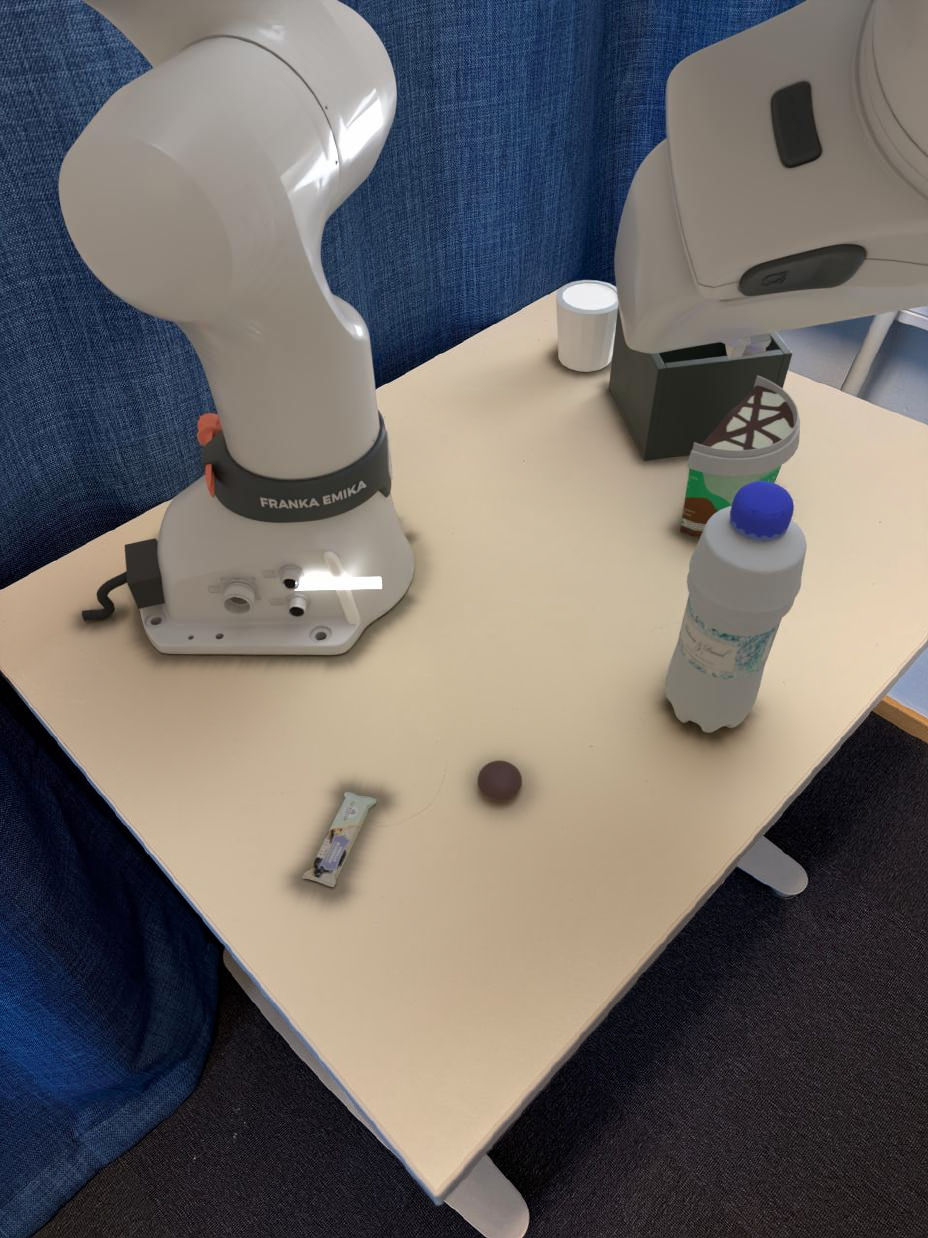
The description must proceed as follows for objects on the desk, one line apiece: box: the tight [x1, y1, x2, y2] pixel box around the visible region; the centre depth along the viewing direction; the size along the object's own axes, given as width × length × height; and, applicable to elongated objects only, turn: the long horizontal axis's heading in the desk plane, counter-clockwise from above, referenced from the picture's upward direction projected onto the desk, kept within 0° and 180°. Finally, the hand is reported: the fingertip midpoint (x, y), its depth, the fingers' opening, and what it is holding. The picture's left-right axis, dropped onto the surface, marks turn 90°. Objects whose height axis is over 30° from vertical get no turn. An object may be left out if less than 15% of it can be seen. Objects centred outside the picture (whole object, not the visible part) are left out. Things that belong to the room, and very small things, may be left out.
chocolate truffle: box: [477, 760, 523, 802], centre depth 61 cm, size 3×3×2 cm
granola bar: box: [302, 791, 378, 888], centre depth 59 cm, size 7×2×1 cm, turn 160°
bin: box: [608, 304, 793, 461], centre depth 85 cm, size 12×12×10 cm
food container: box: [679, 375, 801, 538], centre depth 75 cm, size 12×6×10 cm, turn 143°
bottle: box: [664, 481, 808, 733], centre depth 58 cm, size 7×7×20 cm
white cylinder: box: [555, 279, 618, 373], centre depth 94 cm, size 7×7×7 cm
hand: (858, 318), depth 37 cm, fingers open, 8 cm apart
